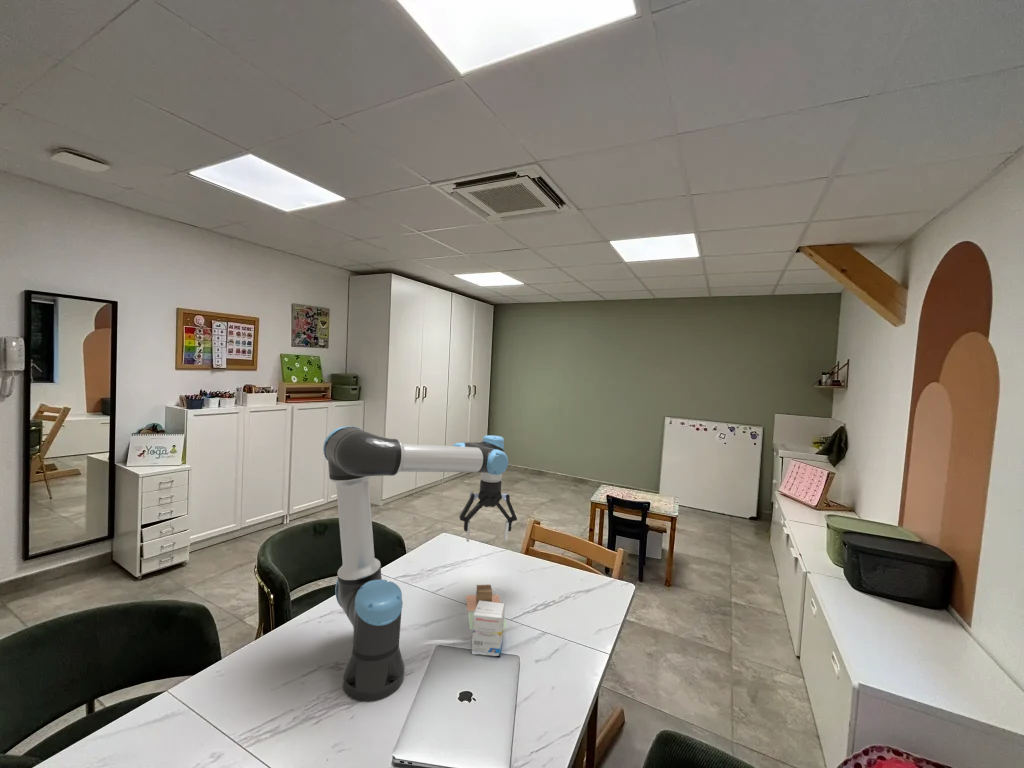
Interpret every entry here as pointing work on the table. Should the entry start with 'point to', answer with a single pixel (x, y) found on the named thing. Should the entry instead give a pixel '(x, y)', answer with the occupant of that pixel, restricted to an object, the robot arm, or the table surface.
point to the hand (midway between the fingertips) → (486, 540)
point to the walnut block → (484, 593)
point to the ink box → (488, 626)
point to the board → (472, 606)
